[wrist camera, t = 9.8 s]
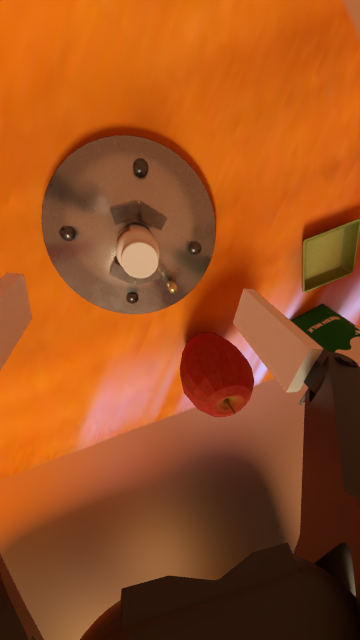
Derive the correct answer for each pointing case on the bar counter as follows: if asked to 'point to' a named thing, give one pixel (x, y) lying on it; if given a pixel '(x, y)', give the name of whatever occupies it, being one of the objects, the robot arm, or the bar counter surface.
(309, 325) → the milk carton
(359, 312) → the bar counter surface
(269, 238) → the bar counter surface
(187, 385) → the apple
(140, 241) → the pill bottle
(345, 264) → the olive square tray
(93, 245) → the flange plate
